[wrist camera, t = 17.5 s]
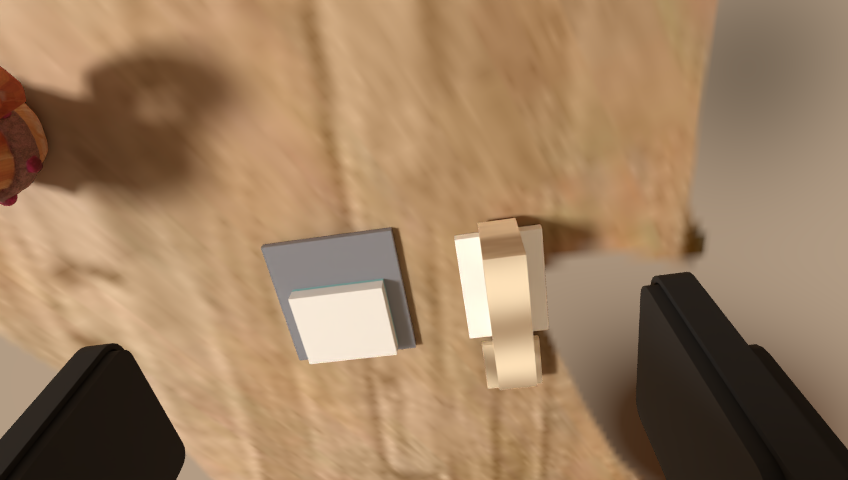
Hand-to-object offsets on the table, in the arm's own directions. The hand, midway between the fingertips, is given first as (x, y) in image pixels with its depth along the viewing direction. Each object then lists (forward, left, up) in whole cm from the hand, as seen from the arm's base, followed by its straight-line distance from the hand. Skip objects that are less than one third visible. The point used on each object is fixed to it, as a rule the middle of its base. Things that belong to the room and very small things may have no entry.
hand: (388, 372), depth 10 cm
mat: (+18, -10, -31) cm, 37 cm away
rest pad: (+18, +4, -31) cm, 36 cm away
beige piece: (+20, +4, -30) cm, 37 cm away
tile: (+16, -10, -30) cm, 35 cm away
